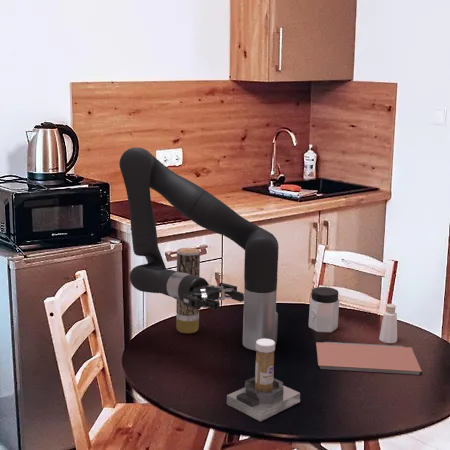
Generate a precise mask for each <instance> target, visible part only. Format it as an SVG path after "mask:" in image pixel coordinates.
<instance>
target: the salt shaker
mask: <svg viewBox="0 0 450 450" xmlns="http://www.w3.org/2000/svg"><path fill="white" fill-rule="evenodd" d="M385 305H386V306H385V307H386V308H385V311H384V313H383V316H382V323H381V327H380V332H379V338H378V339H379V341H380V342H383V343H387V344H394V343H397V341H398V315H397V312H396V307H397V306H396V304H393V303H387V304H385Z"/></svg>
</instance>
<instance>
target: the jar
mask: <svg viewBox="0 0 450 450" xmlns="http://www.w3.org/2000/svg"><path fill="white" fill-rule="evenodd" d="M310 295H311V298H309V309H308V310H309V313H308V328H310V329H311V330H313V331H315V332H317V333H332V332H334V331H335V330H337V329H338V327H339V310H340V309H339V308H340V299H339V290H338V289H335V288H333V287H330V286H329V287H327V286H317V287H314V288H312V289H311V294H310Z"/></svg>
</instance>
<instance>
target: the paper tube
mask: <svg viewBox="0 0 450 450" xmlns="http://www.w3.org/2000/svg"><path fill="white" fill-rule="evenodd" d="M200 251H201V250H200V249H198V248H195V247H181V248H177V249H176V271H177V272H181V273H187V274H191V275H194V276H198V277H201V276H200V271H201V270H200V267H201V266H200V265H201V259H200V258H201V252H200ZM175 311H176V313H175V314H176V318H175V319H176V321H175V322H176V323H175V324H176V331H177V332H179V333H182V334H194V333H196V332H198V331H199V328H200V326H199V325H200V323H199V322H200V309H199V310H198V309H194V308H192V307H189V306H187V305H184V302H182V301H179V300H176V310H175Z"/></svg>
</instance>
